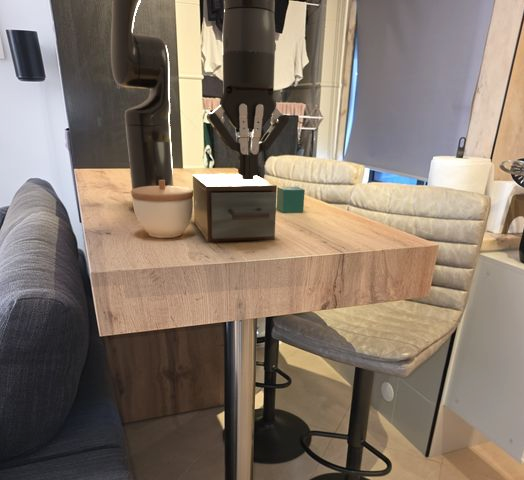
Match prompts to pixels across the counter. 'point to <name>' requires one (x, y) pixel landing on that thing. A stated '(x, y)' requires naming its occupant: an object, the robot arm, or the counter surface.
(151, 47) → the robot arm
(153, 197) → the trinket box
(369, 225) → the counter surface
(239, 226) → the drawer
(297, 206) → the block
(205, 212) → the cabinet
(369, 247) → the counter surface
